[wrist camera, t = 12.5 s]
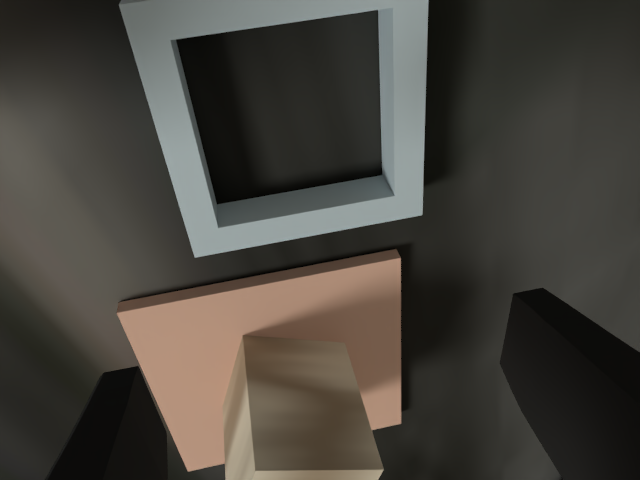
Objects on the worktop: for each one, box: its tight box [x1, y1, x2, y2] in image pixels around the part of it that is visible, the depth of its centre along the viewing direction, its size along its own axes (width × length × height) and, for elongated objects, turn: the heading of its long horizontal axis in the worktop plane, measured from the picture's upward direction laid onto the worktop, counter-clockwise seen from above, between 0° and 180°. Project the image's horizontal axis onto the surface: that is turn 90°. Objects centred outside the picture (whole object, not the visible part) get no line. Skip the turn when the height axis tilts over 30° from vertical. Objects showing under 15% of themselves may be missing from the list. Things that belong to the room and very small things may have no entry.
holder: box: [119, 0, 428, 257], centre depth 16 cm, size 8×8×2 cm
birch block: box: [222, 335, 384, 480], centre depth 21 cm, size 4×4×6 cm
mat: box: [117, 249, 401, 471], centre depth 24 cm, size 11×11×1 cm
